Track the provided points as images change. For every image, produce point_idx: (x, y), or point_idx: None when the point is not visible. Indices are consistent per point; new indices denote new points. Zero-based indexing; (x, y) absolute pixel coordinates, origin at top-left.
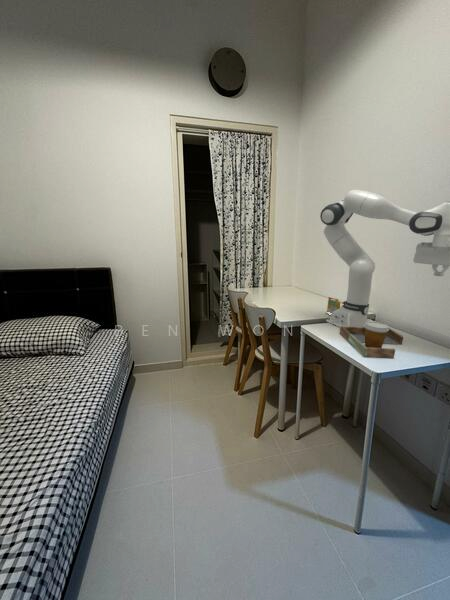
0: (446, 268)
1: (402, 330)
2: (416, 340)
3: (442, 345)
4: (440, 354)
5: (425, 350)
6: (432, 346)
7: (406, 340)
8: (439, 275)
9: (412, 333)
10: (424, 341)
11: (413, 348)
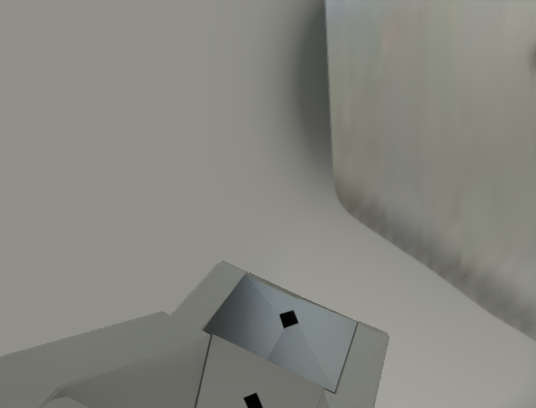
0: (2, 376)
1: (531, 324)
2: (455, 194)
3: (341, 199)
4: (343, 50)
5: (409, 54)
6: (380, 150)
7: (509, 155)
8: (258, 279)
9: (477, 301)
10: (417, 205)
11: (470, 34)
